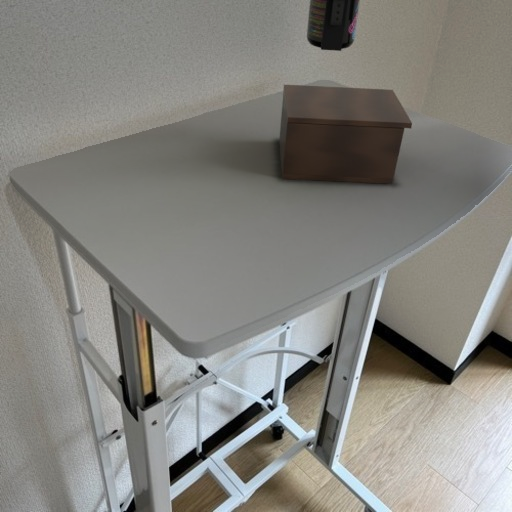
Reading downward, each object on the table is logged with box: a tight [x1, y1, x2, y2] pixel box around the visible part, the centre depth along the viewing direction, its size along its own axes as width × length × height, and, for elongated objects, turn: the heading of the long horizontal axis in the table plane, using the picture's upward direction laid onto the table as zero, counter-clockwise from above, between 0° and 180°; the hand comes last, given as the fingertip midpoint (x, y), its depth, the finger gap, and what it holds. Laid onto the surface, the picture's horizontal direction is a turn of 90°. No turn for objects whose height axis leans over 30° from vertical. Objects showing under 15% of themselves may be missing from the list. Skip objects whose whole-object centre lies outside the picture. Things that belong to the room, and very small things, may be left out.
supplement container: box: [306, 0, 361, 50], centre depth 74 cm, size 7×7×10 cm
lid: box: [283, 84, 413, 129], centre depth 83 cm, size 18×14×1 cm
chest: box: [278, 89, 405, 185], centre depth 85 cm, size 17×14×9 cm
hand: (328, 41), depth 77 cm, fingers closed on supplement container, 7 cm apart
